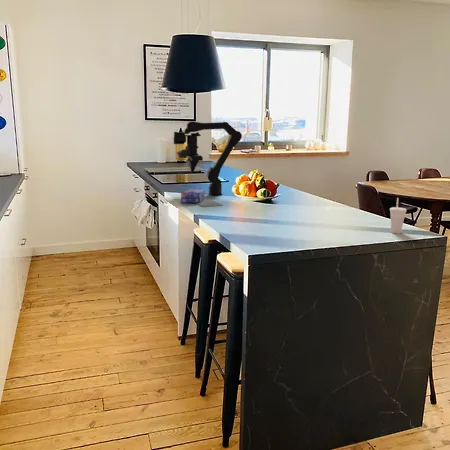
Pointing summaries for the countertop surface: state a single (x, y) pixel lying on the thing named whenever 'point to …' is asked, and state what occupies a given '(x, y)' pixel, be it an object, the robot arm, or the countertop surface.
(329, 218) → the countertop surface
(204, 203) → the mat
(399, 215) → the smoothie
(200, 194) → the ink cartridge box
